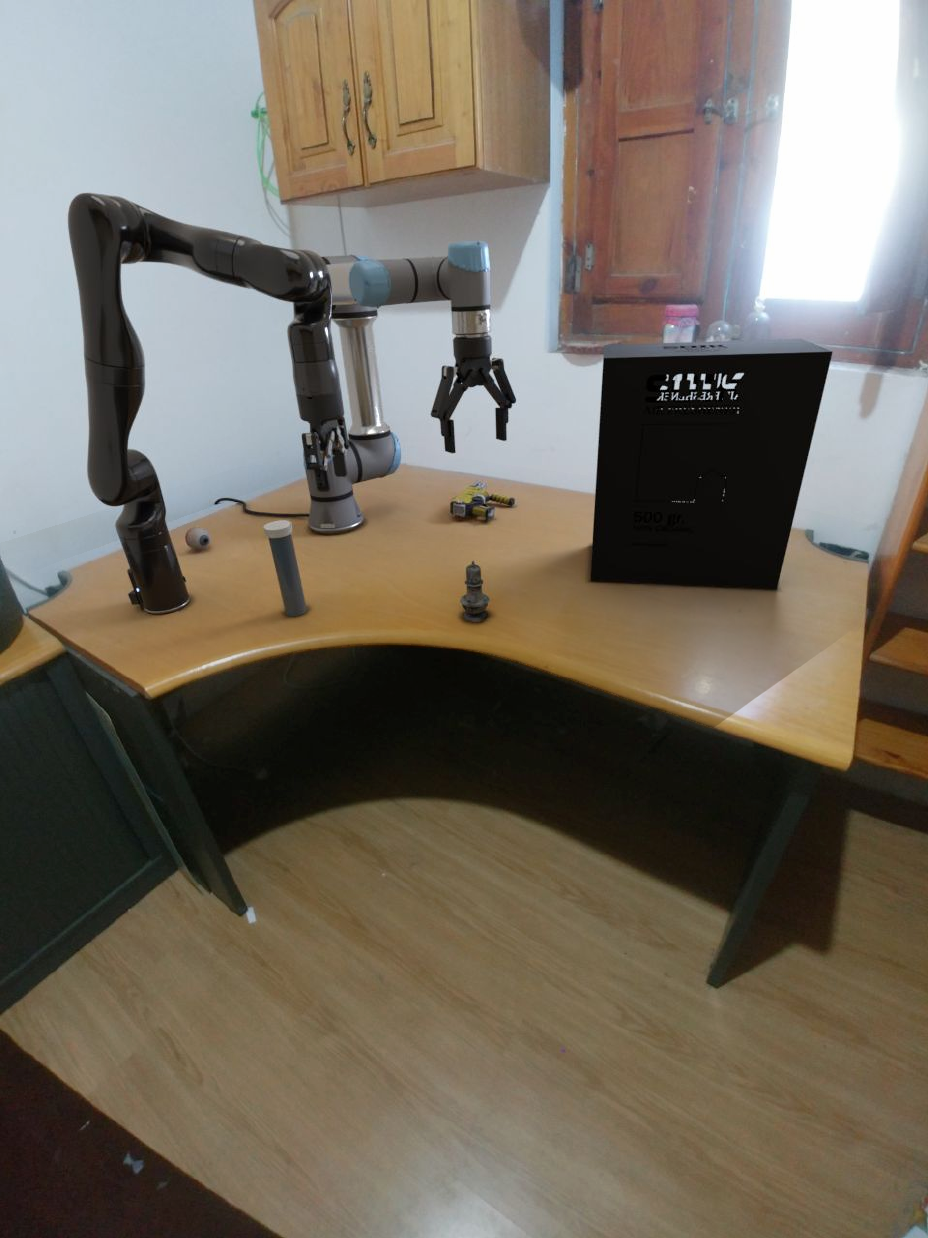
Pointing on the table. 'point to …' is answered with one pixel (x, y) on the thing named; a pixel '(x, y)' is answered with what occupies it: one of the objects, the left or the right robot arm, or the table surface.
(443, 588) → the table surface
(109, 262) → the left robot arm
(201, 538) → the eyeball
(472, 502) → the toy gun
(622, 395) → the cardboard box
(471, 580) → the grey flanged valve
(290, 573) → the bottle
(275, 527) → the lid
